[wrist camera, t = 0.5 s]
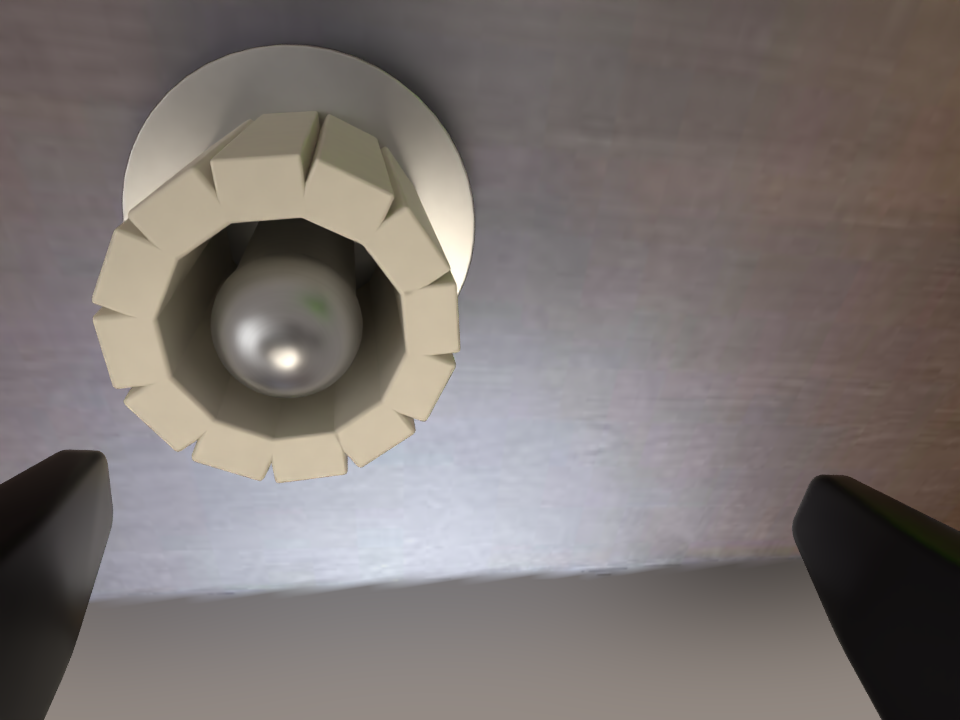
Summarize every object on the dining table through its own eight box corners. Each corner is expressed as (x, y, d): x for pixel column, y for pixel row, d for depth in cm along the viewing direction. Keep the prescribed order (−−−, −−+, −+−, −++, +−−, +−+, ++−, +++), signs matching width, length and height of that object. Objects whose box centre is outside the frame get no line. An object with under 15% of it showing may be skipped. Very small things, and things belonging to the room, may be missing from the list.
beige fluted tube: (213, 348, 19) (145, 501, 12) (160, 119, 16) (43, 170, 10) (428, 325, 20) (467, 459, 13) (411, 105, 17) (449, 143, 11)
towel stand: (177, 385, 20) (68, 607, 12) (89, 51, 16) (-153, 65, 8) (475, 352, 21) (551, 534, 14) (462, 36, 17) (556, 34, 10)
